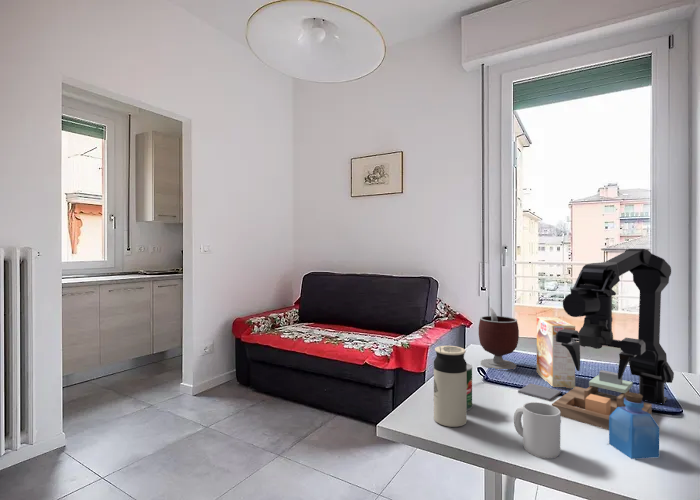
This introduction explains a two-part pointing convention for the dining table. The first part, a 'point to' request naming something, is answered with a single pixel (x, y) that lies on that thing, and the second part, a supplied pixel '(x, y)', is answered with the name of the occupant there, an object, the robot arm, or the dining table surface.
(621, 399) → the puzzle board
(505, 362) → the mate gourd
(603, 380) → the lid
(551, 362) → the coffeecake box
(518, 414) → the cup
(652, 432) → the perfume bottle
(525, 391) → the mat
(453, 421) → the travel mug
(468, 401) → the canned tomato
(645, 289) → the robot arm
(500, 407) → the dining table surface
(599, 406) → the block
